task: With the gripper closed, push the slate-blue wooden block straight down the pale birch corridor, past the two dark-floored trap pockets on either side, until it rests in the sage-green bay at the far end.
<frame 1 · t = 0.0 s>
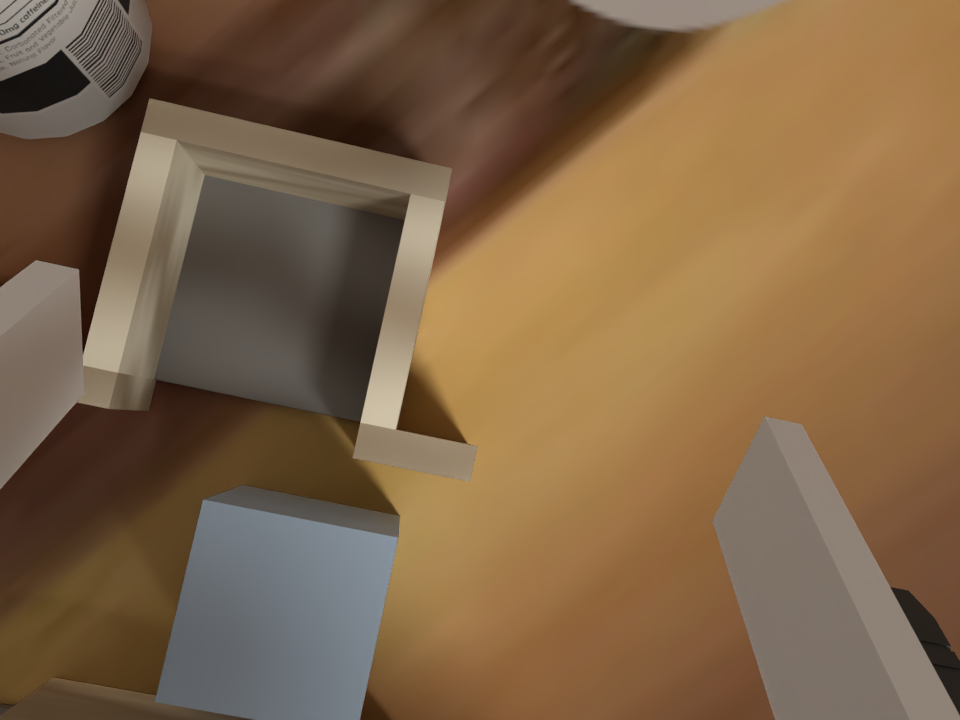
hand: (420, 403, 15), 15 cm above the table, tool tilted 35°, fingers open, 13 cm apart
block: (304, 579, 30), on the table
supplement can: (50, 45, 30), on the table
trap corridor: (4, 523, 29), on the table
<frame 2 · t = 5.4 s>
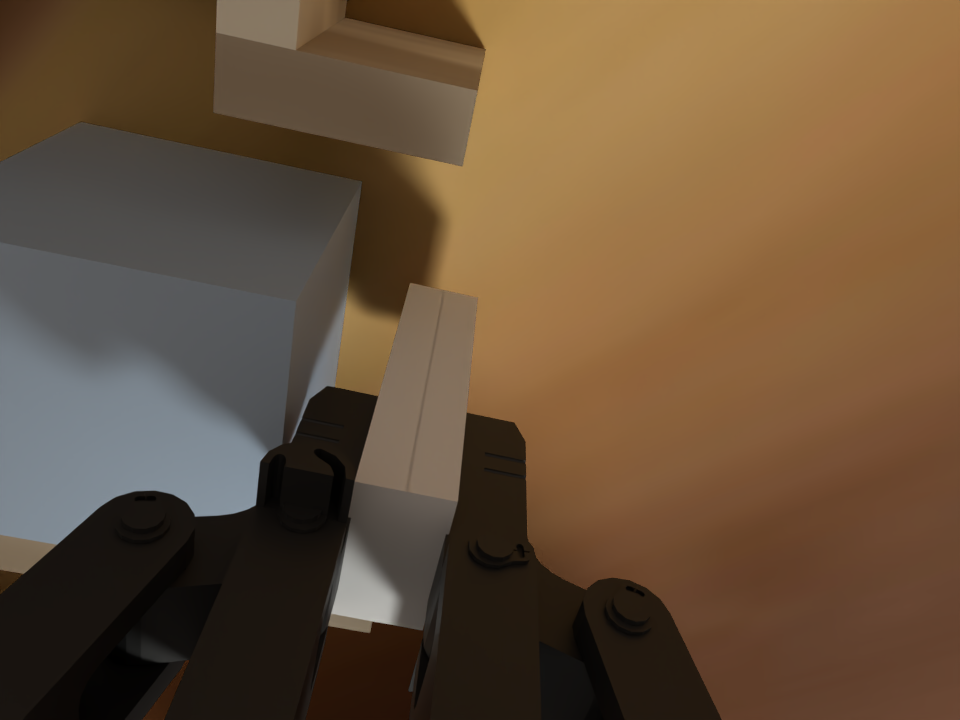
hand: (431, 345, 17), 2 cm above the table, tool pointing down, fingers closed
block: (218, 277, 18), on the table, touching gripper
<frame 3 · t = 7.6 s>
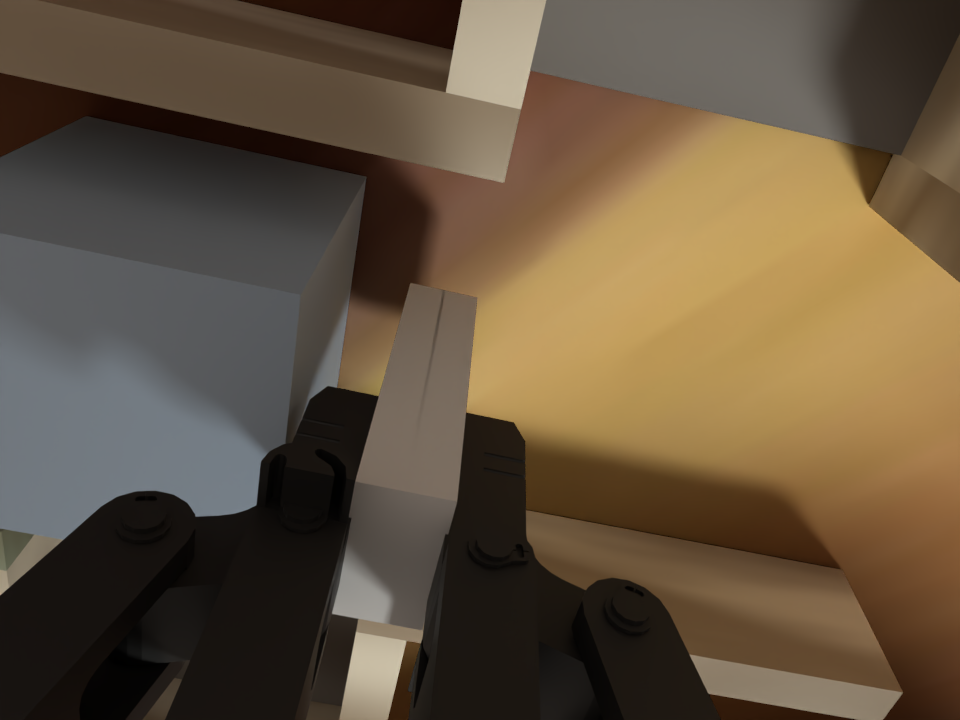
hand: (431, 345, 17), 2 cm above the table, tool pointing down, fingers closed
block: (222, 272, 18), on the table, touching gripper
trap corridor: (293, 297, 19), on the table
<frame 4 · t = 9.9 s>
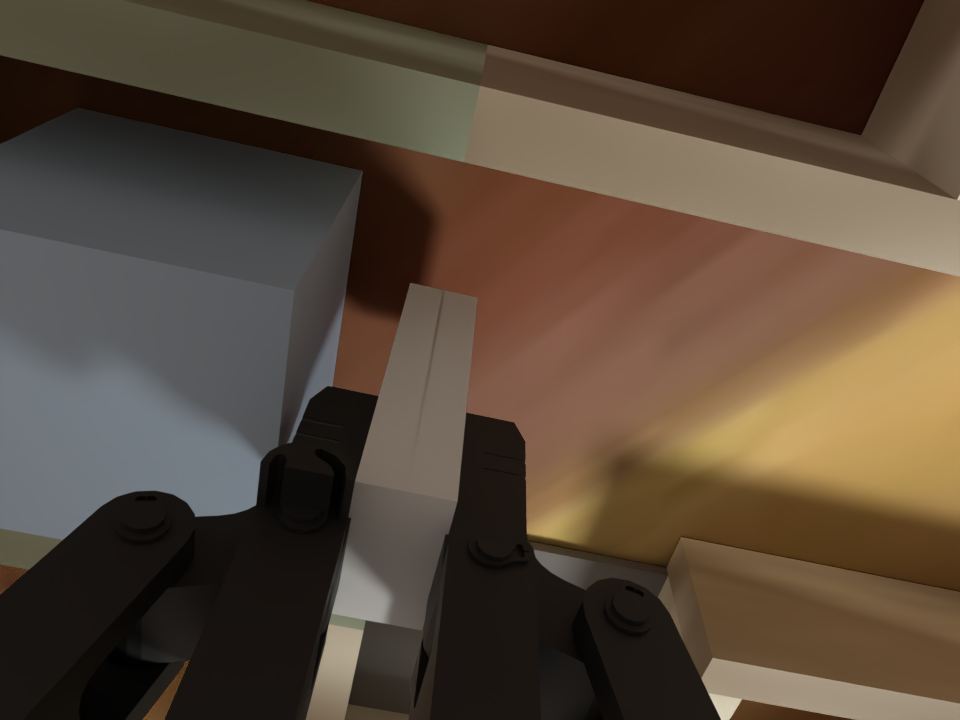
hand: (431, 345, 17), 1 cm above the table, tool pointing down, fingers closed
block: (216, 267, 18), on the table, touching gripper
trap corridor: (633, 362, 19), on the table
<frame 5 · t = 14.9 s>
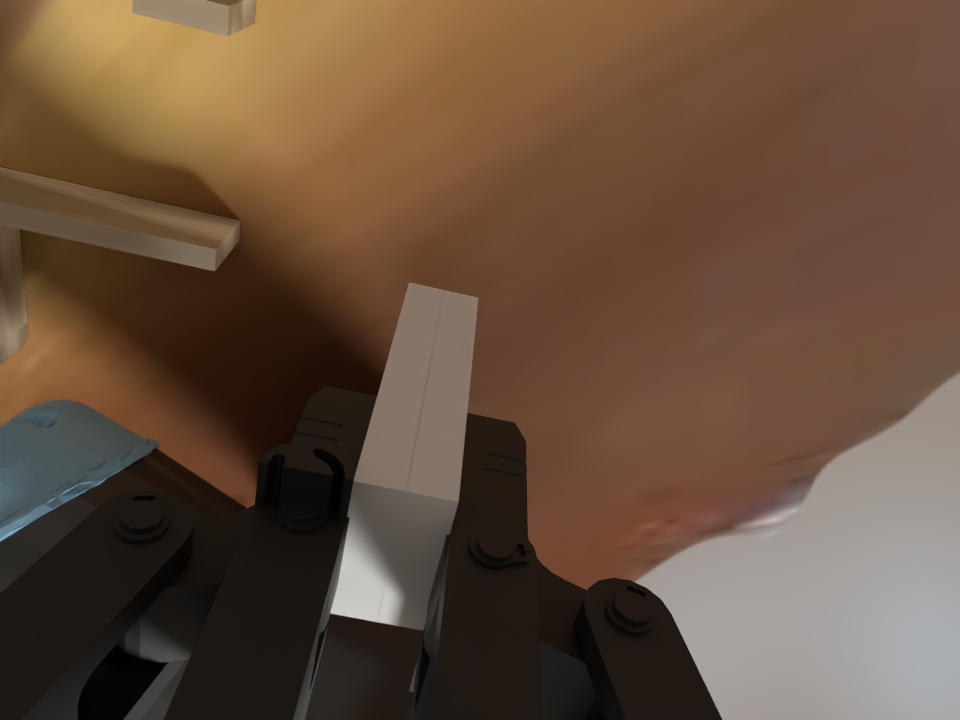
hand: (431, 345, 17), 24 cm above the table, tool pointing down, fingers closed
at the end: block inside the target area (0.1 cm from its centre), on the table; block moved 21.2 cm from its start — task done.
